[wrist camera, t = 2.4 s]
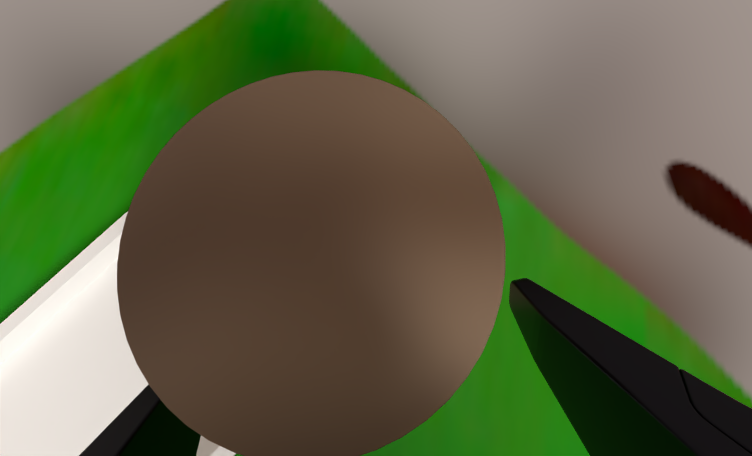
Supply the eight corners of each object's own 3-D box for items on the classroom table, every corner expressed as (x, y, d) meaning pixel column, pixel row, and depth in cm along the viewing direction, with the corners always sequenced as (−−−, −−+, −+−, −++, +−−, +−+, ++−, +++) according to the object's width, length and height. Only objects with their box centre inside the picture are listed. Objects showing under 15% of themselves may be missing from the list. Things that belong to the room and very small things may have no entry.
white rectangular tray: (154, 219, 20) (127, 211, 18) (297, 391, 17) (284, 404, 15) (-113, 459, 18) (-176, 479, 16) (1, 692, 15) (-57, 752, 13)
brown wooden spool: (446, 310, 17) (583, 366, 5) (335, 354, 17) (164, 536, 5) (401, 203, 19) (410, 21, 6) (297, 243, 19) (87, 147, 6)
